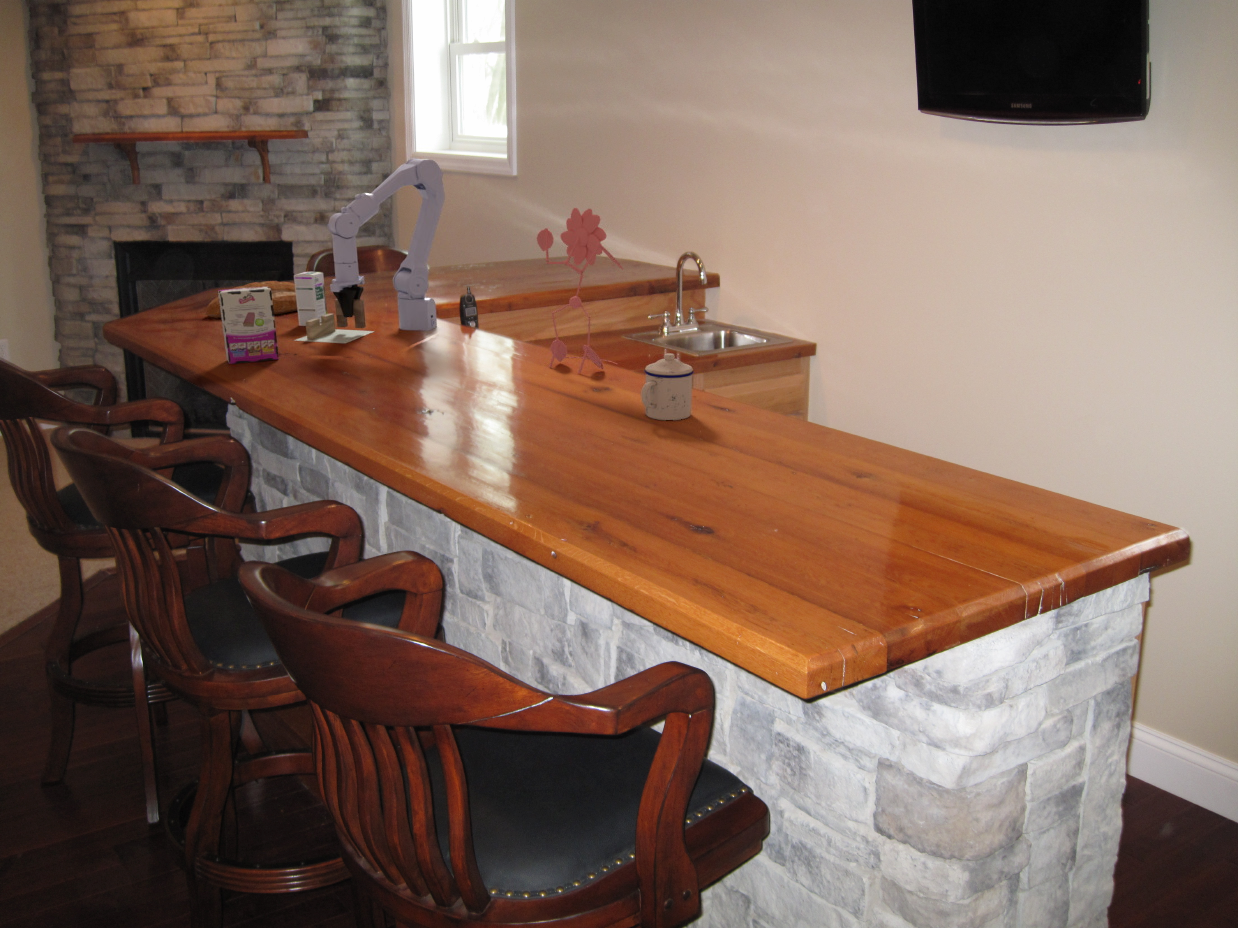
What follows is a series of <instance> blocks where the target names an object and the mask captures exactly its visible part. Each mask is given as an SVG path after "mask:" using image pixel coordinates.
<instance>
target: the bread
mask: <svg viewBox="0 0 1238 928" xmlns="http://www.w3.org/2000/svg"><path fill="white" fill-rule="evenodd" d="M255 287H269V288H270V289H271V292H272V302H273V309H274V316H275V315H282V314H286V313H287V314H288V313H292V312H298V310H297V301H296V291H295V283H292V282H288V281H278V280H270V281H269V280H267V281H261V282H257V281H255V282H251V283H247V284H245V285H240V286H236V287H234V288H232V289H241V288H255ZM205 315H206V316H208V317H209V318H215V319H222V318H221V310H220V302H219V295H218V296H216V297H215V298H214V299H212V300H211V301H210V303H208V305H207V306H206V308H205Z"/></svg>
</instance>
